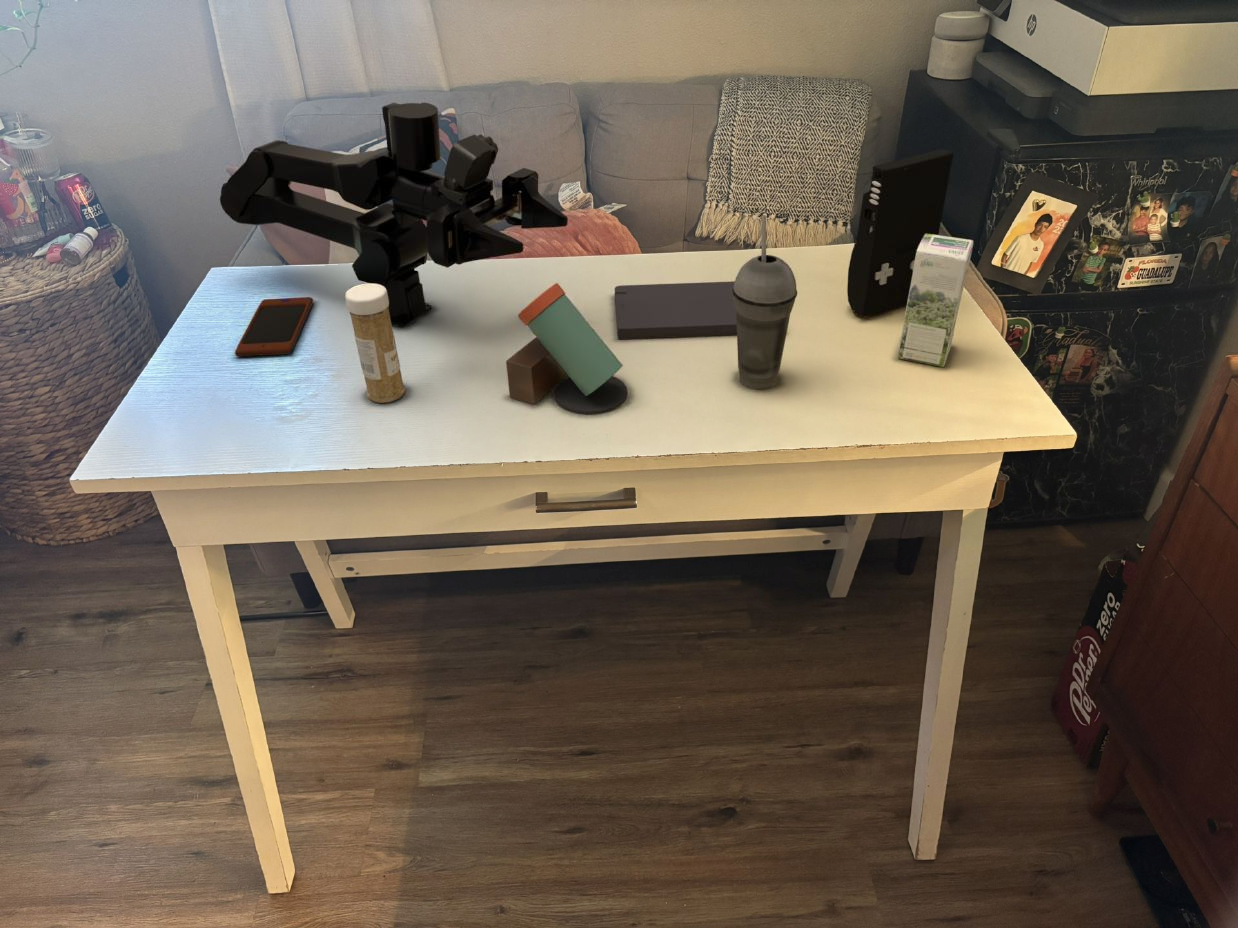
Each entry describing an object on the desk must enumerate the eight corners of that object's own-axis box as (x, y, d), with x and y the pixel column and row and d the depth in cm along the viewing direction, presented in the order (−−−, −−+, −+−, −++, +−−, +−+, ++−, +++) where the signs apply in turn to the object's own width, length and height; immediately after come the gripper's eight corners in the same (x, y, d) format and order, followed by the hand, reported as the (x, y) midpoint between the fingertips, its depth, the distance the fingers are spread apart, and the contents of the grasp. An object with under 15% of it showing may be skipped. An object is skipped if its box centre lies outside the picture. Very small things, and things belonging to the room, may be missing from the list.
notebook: (617, 339, 120) (781, 333, 121) (617, 328, 119) (782, 322, 120) (614, 295, 131) (765, 290, 131) (614, 285, 130) (766, 279, 130)
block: (509, 397, 110) (505, 360, 107) (554, 359, 117) (552, 324, 114) (534, 405, 108) (531, 367, 105) (578, 366, 115) (576, 330, 112)
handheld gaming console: (863, 322, 123) (885, 172, 111) (840, 309, 126) (859, 161, 114) (930, 300, 127) (958, 153, 116) (906, 287, 131) (931, 143, 119)
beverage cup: (749, 401, 108) (761, 237, 96) (715, 373, 113) (723, 214, 101) (801, 385, 110) (818, 223, 98) (765, 358, 116) (778, 202, 104)
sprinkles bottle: (411, 396, 110) (392, 292, 102) (375, 408, 108) (353, 303, 100) (396, 380, 113) (377, 278, 105) (360, 391, 111) (338, 288, 103)
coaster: (540, 403, 108) (540, 400, 108) (578, 369, 114) (578, 366, 114) (604, 421, 105) (604, 418, 105) (640, 386, 111) (640, 383, 111)
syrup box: (951, 347, 117) (975, 237, 108) (943, 369, 113) (967, 257, 104) (905, 338, 119) (925, 230, 110) (896, 360, 115) (915, 249, 106)
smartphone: (312, 295, 130) (289, 348, 118) (314, 301, 131) (291, 354, 119) (261, 298, 130) (233, 351, 118) (263, 304, 130) (235, 357, 118)
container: (515, 385, 111) (505, 289, 103) (542, 363, 115) (535, 269, 108) (606, 411, 106) (603, 312, 98) (631, 387, 110) (629, 290, 103)
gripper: (380, 154, 101) (496, 190, 96) (483, 114, 115) (591, 144, 109) (388, 249, 108) (497, 288, 103) (484, 201, 121) (586, 233, 116)
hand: (545, 234), depth 107 cm, fingers open, 9 cm apart
